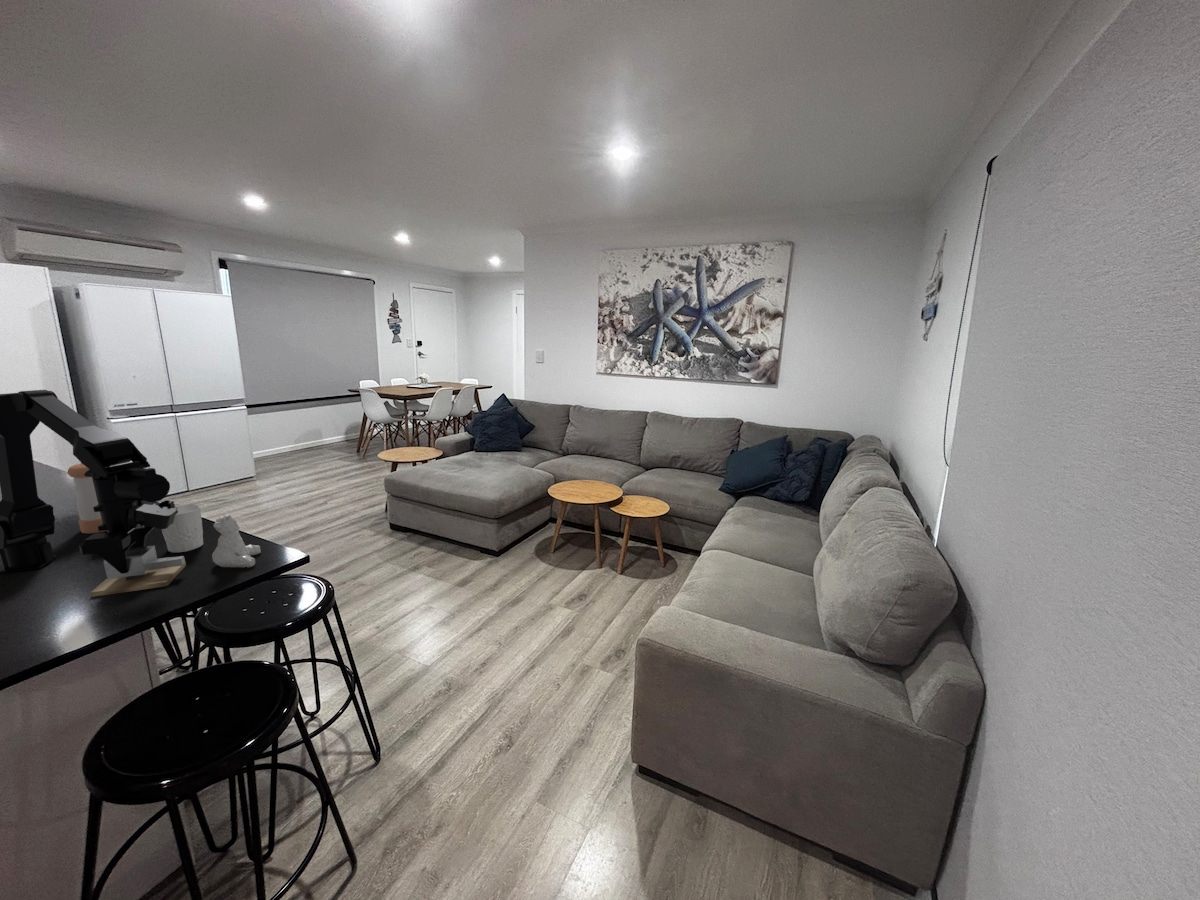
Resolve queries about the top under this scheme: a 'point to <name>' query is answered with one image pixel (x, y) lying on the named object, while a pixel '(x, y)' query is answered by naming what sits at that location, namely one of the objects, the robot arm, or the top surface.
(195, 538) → the white cup
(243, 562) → the sitting furry creature
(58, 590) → the top surface
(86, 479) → the pepper shaker
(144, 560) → the white handled block
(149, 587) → the board
